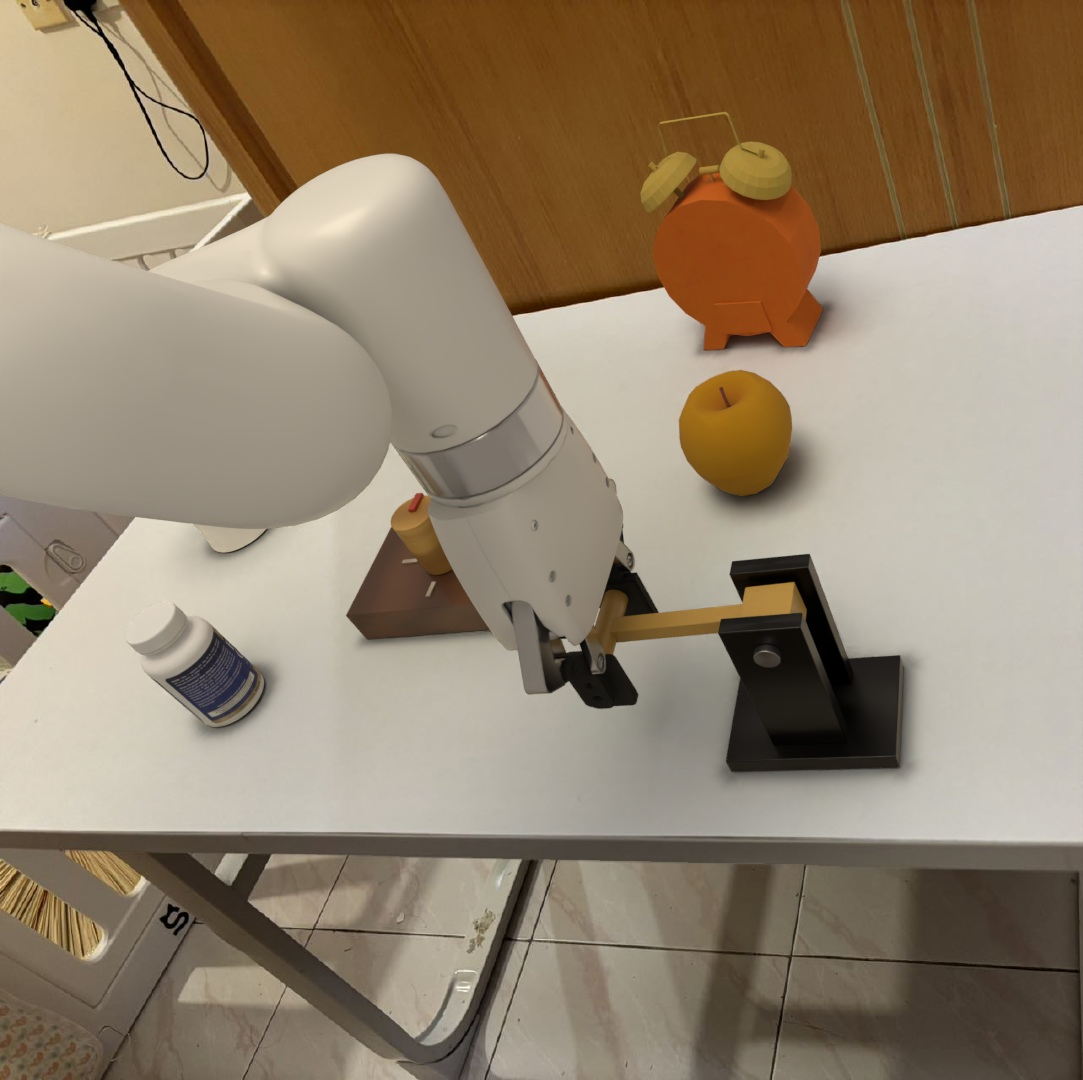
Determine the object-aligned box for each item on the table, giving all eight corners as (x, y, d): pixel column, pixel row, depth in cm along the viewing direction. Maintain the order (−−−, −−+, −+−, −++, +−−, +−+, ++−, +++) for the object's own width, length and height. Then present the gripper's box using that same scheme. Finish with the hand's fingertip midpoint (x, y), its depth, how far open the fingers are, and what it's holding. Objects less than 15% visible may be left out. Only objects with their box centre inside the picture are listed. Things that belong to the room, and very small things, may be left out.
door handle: (593, 680, 57) (575, 654, 55) (613, 611, 60) (597, 585, 59) (800, 663, 53) (787, 635, 51) (809, 590, 56) (797, 561, 54)
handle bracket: (731, 772, 60) (663, 652, 52) (747, 675, 65) (687, 552, 57) (899, 768, 57) (854, 639, 49) (903, 666, 61) (863, 534, 54)
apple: (823, 492, 74) (792, 399, 68) (715, 534, 75) (676, 446, 69) (792, 427, 81) (761, 336, 75) (693, 466, 81) (655, 380, 75)
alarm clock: (842, 303, 90) (783, 84, 77) (822, 346, 87) (757, 124, 73) (710, 311, 96) (634, 109, 83) (687, 352, 93) (604, 147, 79)
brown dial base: (366, 639, 79) (344, 614, 77) (412, 545, 85) (392, 519, 83) (524, 627, 74) (505, 599, 72) (559, 528, 81) (543, 500, 79)
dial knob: (457, 573, 76) (422, 525, 72) (417, 577, 77) (380, 529, 74) (473, 538, 78) (439, 489, 75) (434, 542, 80) (399, 494, 76)
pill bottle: (279, 671, 79) (197, 591, 73) (243, 729, 76) (155, 651, 69) (227, 671, 81) (144, 593, 75) (190, 728, 78) (99, 652, 71)
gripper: (470, 332, 54) (601, 558, 66) (341, 573, 43) (528, 792, 55) (596, 307, 52) (708, 546, 64) (496, 556, 40) (655, 789, 53)
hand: (623, 658), depth 59 cm, fingers closed on door handle, 5 cm apart
